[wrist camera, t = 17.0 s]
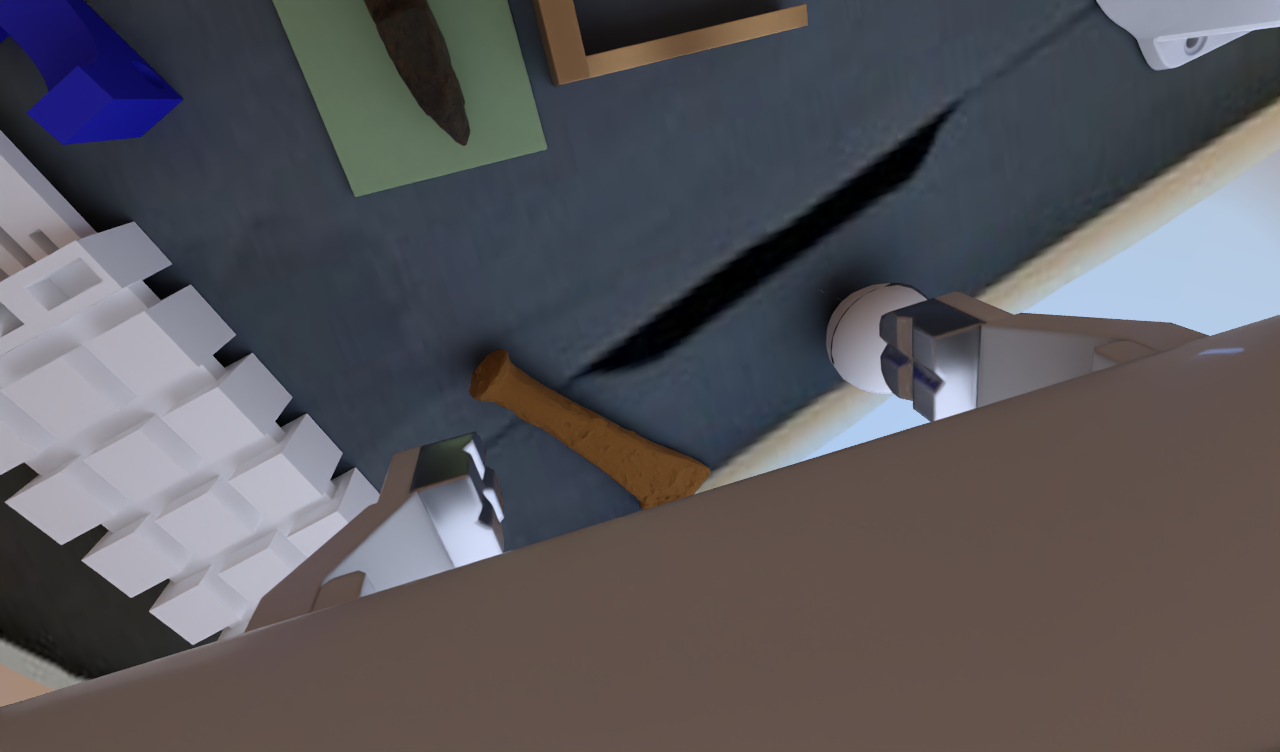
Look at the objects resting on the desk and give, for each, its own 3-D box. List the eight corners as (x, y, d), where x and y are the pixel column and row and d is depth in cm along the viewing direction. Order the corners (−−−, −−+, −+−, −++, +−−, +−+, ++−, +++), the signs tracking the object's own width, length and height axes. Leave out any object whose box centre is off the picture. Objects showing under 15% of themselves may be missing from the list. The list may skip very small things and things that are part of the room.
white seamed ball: (920, 316, 44) (991, 354, 38) (843, 385, 45) (899, 433, 39) (848, 220, 40) (914, 243, 33) (765, 299, 41) (813, 336, 35)
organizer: (247, 686, 40) (-378, 212, 24) (273, 629, 44) (-245, 195, 29) (419, 596, 40) (-102, 56, 24) (428, 548, 44) (-9, 62, 28)
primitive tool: (712, 467, 46) (726, 494, 43) (667, 518, 47) (678, 547, 44) (495, 334, 38) (494, 355, 35) (449, 399, 40) (444, 424, 37)
